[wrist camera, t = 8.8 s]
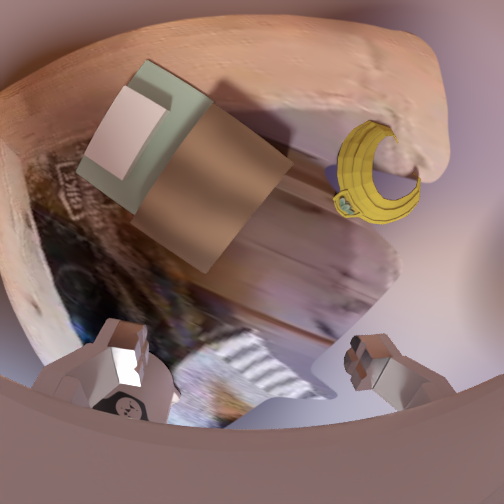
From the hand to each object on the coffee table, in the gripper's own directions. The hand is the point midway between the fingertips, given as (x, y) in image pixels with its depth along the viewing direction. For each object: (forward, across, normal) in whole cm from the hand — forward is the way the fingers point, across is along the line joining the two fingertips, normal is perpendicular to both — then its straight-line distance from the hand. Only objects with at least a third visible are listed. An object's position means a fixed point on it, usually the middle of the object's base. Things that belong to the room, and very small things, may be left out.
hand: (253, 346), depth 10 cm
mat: (+24, +12, -8) cm, 27 cm away
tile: (+21, +13, -8) cm, 26 cm away
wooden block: (+23, +3, -2) cm, 24 cm away
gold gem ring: (+24, -16, -6) cm, 30 cm away
